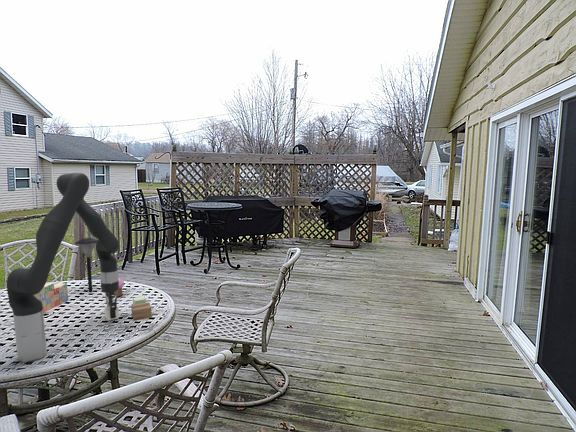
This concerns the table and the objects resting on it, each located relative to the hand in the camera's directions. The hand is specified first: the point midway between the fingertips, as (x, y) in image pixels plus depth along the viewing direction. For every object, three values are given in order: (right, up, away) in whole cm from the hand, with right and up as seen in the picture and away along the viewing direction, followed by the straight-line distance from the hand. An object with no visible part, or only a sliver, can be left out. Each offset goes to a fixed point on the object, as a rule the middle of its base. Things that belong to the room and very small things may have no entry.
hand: (111, 315), depth 184 cm
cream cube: (0, -1, 0) cm, 1 cm away
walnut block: (+13, -1, +3) cm, 13 cm away
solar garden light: (-29, +4, +38) cm, 48 cm away
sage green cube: (+8, 0, +13) cm, 15 cm away
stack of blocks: (-38, 0, +15) cm, 41 cm away
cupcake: (-12, +3, +31) cm, 33 cm away
